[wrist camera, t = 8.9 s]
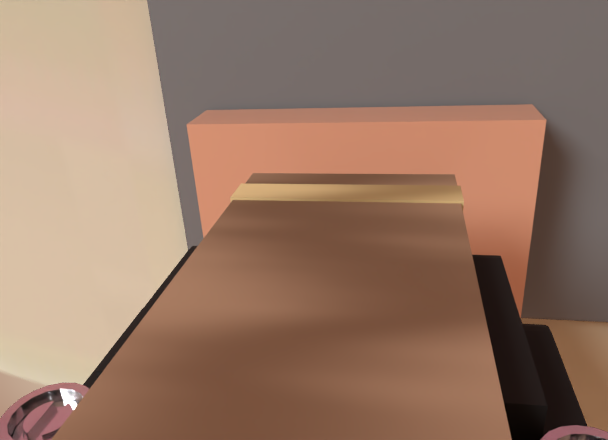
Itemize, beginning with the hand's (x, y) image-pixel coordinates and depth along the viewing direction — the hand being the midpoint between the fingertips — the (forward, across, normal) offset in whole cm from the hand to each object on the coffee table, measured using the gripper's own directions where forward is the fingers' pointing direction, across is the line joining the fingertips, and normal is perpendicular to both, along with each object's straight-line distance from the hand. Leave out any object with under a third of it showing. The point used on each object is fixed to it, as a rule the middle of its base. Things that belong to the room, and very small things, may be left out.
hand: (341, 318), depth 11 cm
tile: (+7, 0, -2) cm, 7 cm away
